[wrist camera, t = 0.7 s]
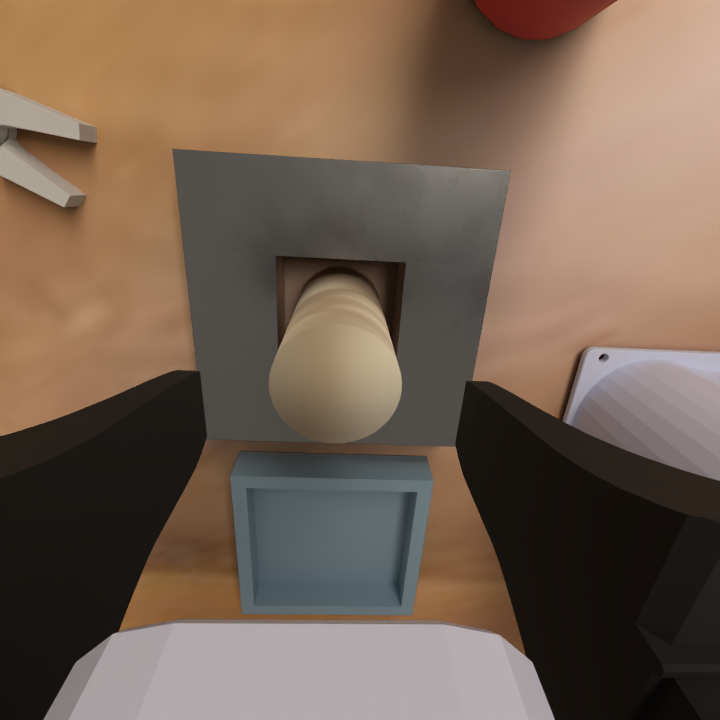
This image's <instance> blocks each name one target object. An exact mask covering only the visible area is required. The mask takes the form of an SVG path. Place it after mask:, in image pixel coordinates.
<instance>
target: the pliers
mask: <svg viewBox="0 0 720 720" xmlns="http://www.w3.org/2000/svg"><path fill="white" fill-rule="evenodd" d="M17 129H27V130H32V131H37V132H42V133H47V134H52V135H57V136H62V137H66V138H71V139H76V140H81V141H87V142H93V143H97V131H96V127H94V126H92V125H90V124H87V123H85V122H83V121H80V120H78V119H76V118H73V117H71V116H69V115H66V114H64V113H62V112H59V111H57V110H55V109H52V108H50V107H47V106H45V105H43V104H40V103H38V102H36V101H33V100H31V99H29V98H26V97H24V96H22V95H19V94H17V93H14V92H11V91H8V90H5V89H1V88H0V176H2V177H4V178H6V179H8V180H10V181H12V182H14V183H16V184H18V185H20V186H22V187H24V188H26V189H28V190H30V191H32V192H34V193H36V194H38V195H40V196H42V197H44V198H46V199H48V200H50V201H52V202H54V203H56V204H58V205H60V206H62V207H74V206H80V205H81V203H82V202H83V200H84V198H85V196H86V195H85V194H84V193H83V192H81V191H80V190H79V189H77V188H76V187H75V186H73V185H72V184H71V183H69V182H68V181H67V180H65V179H64V178H63V177H61V176H60V175H59V174H57V173H56V172H55V171H53V170H52V169H51V168H49V167H48V166H47V165H45V164H44V163H42V162H41V161H40V160H38V159H37V158H36V157H34V156H33V155H32V154H30V153H29V152H28V151H26V150H25V149H24V148H22V146H21V145H20V144H19V143H18V142H17V140H16V137H17Z"/></svg>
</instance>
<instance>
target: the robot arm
mask: <svg viewBox="0 0 720 720" xmlns="http://www.w3.org/2000/svg"><path fill="white" fill-rule="evenodd" d="M602 354H604V357H603V358H602V359H600V360H599V357H600V356H601V355H602ZM206 438H207V431H206V422H205V412H204V403H203V394H202V385H201V376H200V371H182V370H176V371H172V372H169V373H166V374H164V375H161V376H159V377H156V378H154V379H151V380H149V381H147V382H145V383H142V384H140V385H138V386H136V387H133V388H131V389H129V390H127V391H124V392H122V393H120V394H118V395H115V396H113V397H111V398H108V399H106V400H103V401H101V402H98V403H96V404H93V405H91V406H89V407H86V408H84V409H81V410H79V411H76V412H74V413H71V414H69V415H66V416H63V417H60V418H58V419H55V420H52V421H49V422H46V423H43V424H40V425H37V426H34V427H31V428H27V429H24V430H21V431H18V432H14V433H11V434H8V435H4V436H0V720H720V352H710V351H686V350H663V349H639V348H615V347H589V348H587V349H586V350H585V351H584V352H583V354H582V356H581V360H580V363H579V366H578V370H577V373H576V377H575V380H574V383H573V387H572V390H571V394H570V397H569V400H568V404H567V407H566V411H565V414H564V417H563V421H561V420H559V419H557V418H555V417H553V416H552V415H550V414H548V413H546V412H544V411H542V410H541V409H539V408H537V407H535V406H534V405H532V404H530V403H528V402H526V401H525V400H523V399H521V398H519V397H518V396H516V395H514V394H512V393H511V392H509V391H507V390H505V389H503V388H501V387H499V386H497V385H495V384H493V383H490V382H484V381H466V385H465V390H464V396H463V402H462V407H461V413H460V419H459V424H458V430H457V435H456V441H455V445H456V449H457V453H458V457H459V461H460V465H461V469H462V472H463V475H464V478H465V480H466V483H467V485H468V488H469V490H470V492H471V495H472V497H473V500H474V502H475V504H476V507H477V509H478V511H479V514H480V516H481V518H482V521H483V523H484V525H485V528H486V530H487V532H488V535H489V537H490V539H491V542H492V544H493V547H494V549H495V552H496V555H497V557H498V560H499V563H500V566H501V569H502V573H503V576H504V579H505V583H506V586H507V589H508V592H509V596H510V599H511V602H512V606H513V610H514V613H515V617H516V620H517V624H518V628H519V631H520V635H521V638H522V642H523V646H524V650H525V654H526V656H524V655H523V654H522V653H521V652H520V651H518V650H517V649H516V648H515V647H514V646H512V645H511V644H510V643H509V642H507V641H506V640H505V639H504V638H503V637H501V636H500V635H498V634H496V633H494V632H492V631H490V630H486V629H481V628H476V627H470V626H465V625H460V624H455V623H450V622H444V621H421V620H222V619H179V620H173V621H168V622H162V623H156V624H150V625H145V626H139V627H133V628H128V629H125V630H122V631H119V629H120V626H121V623H122V621H123V618H124V616H125V613H126V610H127V608H128V605H129V603H130V600H131V598H132V595H133V593H134V590H135V588H136V585H137V583H138V581H139V578H140V576H141V573H142V571H143V569H144V566H145V564H146V561H147V559H148V557H149V555H150V553H151V550H152V548H153V546H154V544H155V542H156V540H157V538H158V537H159V535H160V533H161V531H162V529H163V527H164V526H165V524H166V522H167V520H168V518H169V516H170V515H171V513H172V511H173V509H174V507H175V505H176V504H177V502H178V500H179V498H180V496H181V495H182V493H183V491H184V489H185V487H186V485H187V483H188V481H189V480H190V478H191V476H192V474H193V472H194V470H195V468H196V466H197V463H198V461H199V458H200V455H201V453H202V450H203V447H204V444H205V441H206ZM118 631H119V632H118Z"/></svg>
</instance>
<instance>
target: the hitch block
mask: <svg viewBox="0 0 720 720" xmlns="http://www.w3.org/2000/svg"><path fill="white" fill-rule="evenodd" d="M172 150H173V159H174V167H175V176H176V185H177V194H178V203H179V212H180V221H181V230H182V239H183V248H184V257H185V266H186V275H187V284H188V293H189V302H190V311H191V320H192V328H193V337H194V346H195V355H196V364H197V371H200V376H201V385H202V394H203V403H204V412H205V422H206V431H207V438H206V439H209V440H244V441H279V442H314V443H324V442H319V441H315V440H312V439H309V438H307V437H305V436H303V435H301V434H299V433H297V432H296V431H294V430H293V429H292V428H290V427H289V426H288V425H287V424H286V423H285V422H284V421H283V420H282V418H281V417H280V416H279V415H278V413H277V411H276V409H275V408H274V405H273V403H272V400H271V396H270V392H269V376H270V370H271V367H272V364H273V362H274V359H275V357H276V354H277V352H278V349H279V347H280V345H281V342H282V340H283V337H284V335H285V283H284V256H291V257H310V258H329V259H348V260H368V261H387V262H398V271H397V282H396V293H395V304H394V315H393V326H392V336H391V341H392V345H393V348H394V351H395V355H396V358H397V362H398V365H399V369H400V372H401V378H402V391H401V397H400V400H399V403H398V406H397V408H396V410H395V412H394V413H393V415H392V416H391V418H390V419H389V420H388V421H387V422H386V423H385V424H384V425H383V426H382V427H381V428H380V429H379V430H377V431H376V432H374V433H373V434H371V435H369V436H367V437H365V438H362V439H360V440H356V441H352V442H347V443H349V444H385V445H420V446H455V447H456V445H455V441H456V435H457V430H458V424H459V419H460V413H461V407H462V402H463V396H464V390H465V385H466V381H472V378H473V373H474V367H475V362H476V357H477V351H478V346H479V340H480V335H481V329H482V324H483V318H484V313H485V308H486V302H487V297H488V291H489V286H490V280H491V275H492V270H493V264H494V259H495V253H496V248H497V242H498V237H499V231H500V226H501V221H502V215H503V210H504V204H505V199H506V193H507V188H508V183H509V177H510V172H511V171H506V170H491V169H475V168H460V167H444V166H428V165H413V164H397V163H382V162H366V161H351V160H335V159H320V158H304V157H289V156H273V155H258V154H242V153H227V152H211V151H196V150H180V149H172Z"/></svg>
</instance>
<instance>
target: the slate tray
mask: <svg viewBox="0 0 720 720" xmlns="http://www.w3.org/2000/svg"><path fill="white" fill-rule="evenodd" d="M230 480H231V492H232V503H233V515H234V527H235V538H236V550H237V561H238V573H239V585H240V596H241V608H242V614H300V615H412V613H413V607H414V601H415V594H416V588H417V582H418V575H419V569H420V563H421V557H422V550H423V544H424V538H425V532H426V525H427V519H428V513H429V506H430V500H431V494H432V488H433V477H432V474H431V470H430V467H429V464H428V460H427V457H426V456H398V455H361V454H324V453H287V452H250V451H240V452H239V455H238V457H237V460H236V462H235V465H234V467H233V470H232V473H231V475H230Z"/></svg>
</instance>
